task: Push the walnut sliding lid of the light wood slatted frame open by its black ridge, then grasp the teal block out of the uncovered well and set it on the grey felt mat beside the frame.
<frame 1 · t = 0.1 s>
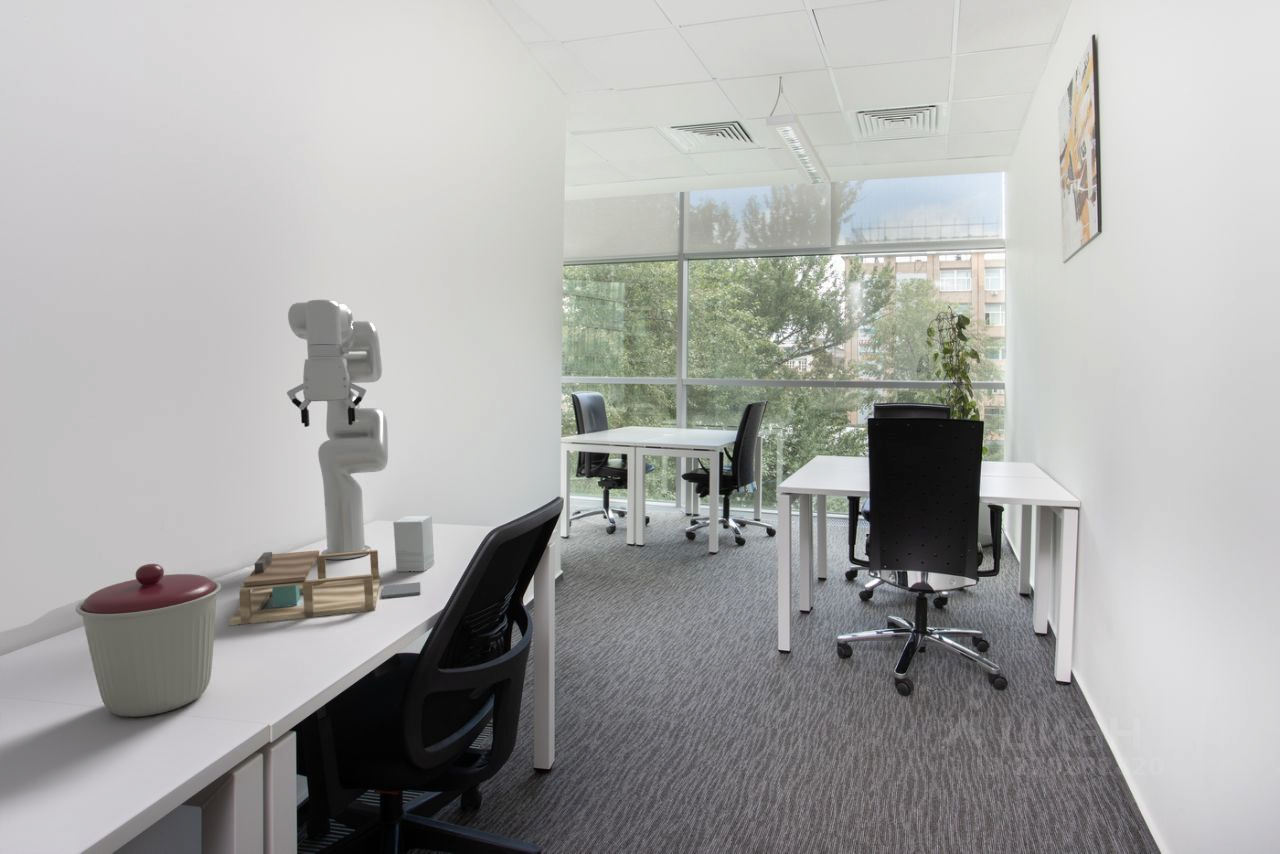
hand: (329, 425, 177), 37 cm above the table, tool pointing down, fingers open, 9 cm apart
felt mat: (401, 591, 167), on the table
teal block: (286, 603, 160), resting in light wood slatted frame
supplement box: (415, 569, 187), on the table
light wood slatted frame: (312, 600, 162), on the table
walnut lid: (284, 562, 160), point 9 cm above the table, slide at 0.0 cm
canister: (159, 703, 112), on the table
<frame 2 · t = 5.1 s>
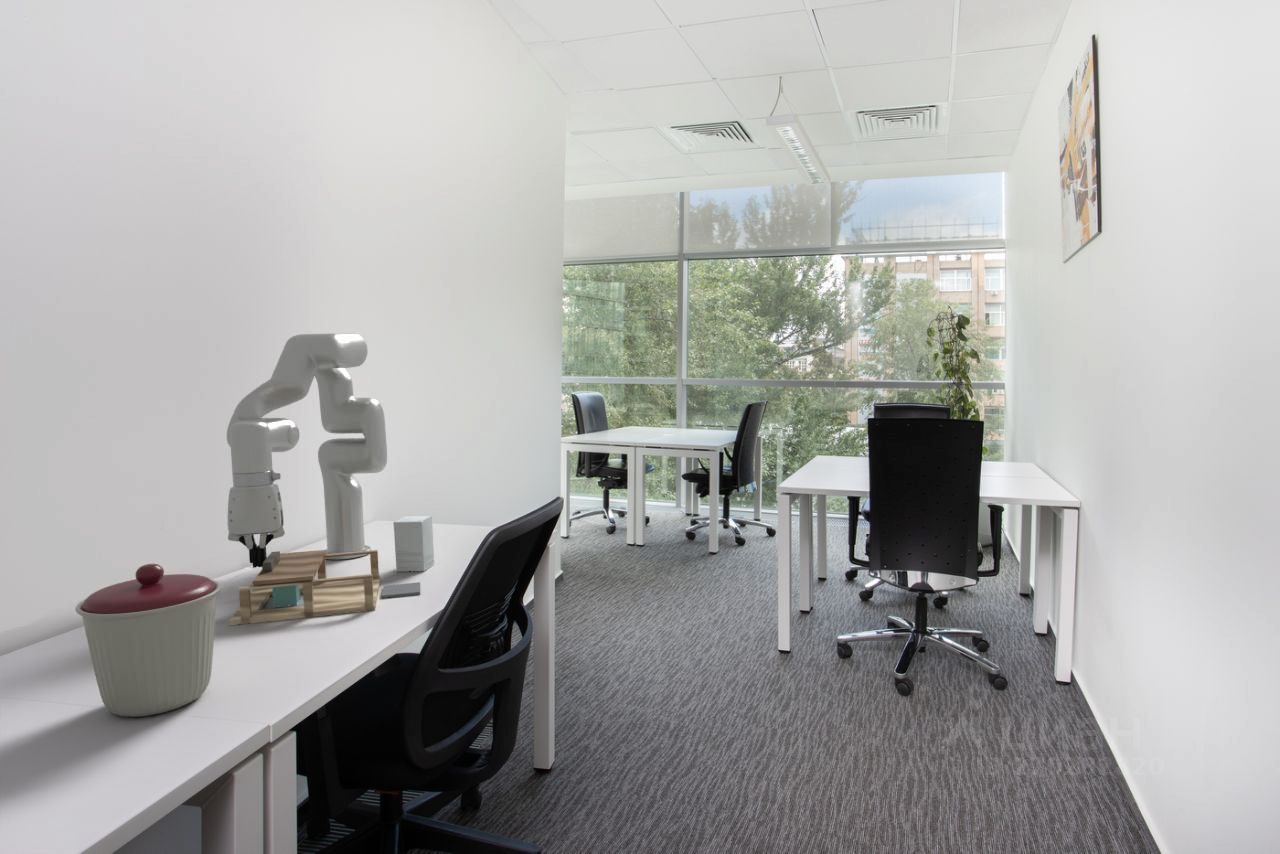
hand: (258, 565, 158), 9 cm above the table, tool pointing down, fingers closed
walnut lid: (292, 561, 160), point 9 cm above the table, slide at 1.6 cm, touching gripper
everything else where it was.
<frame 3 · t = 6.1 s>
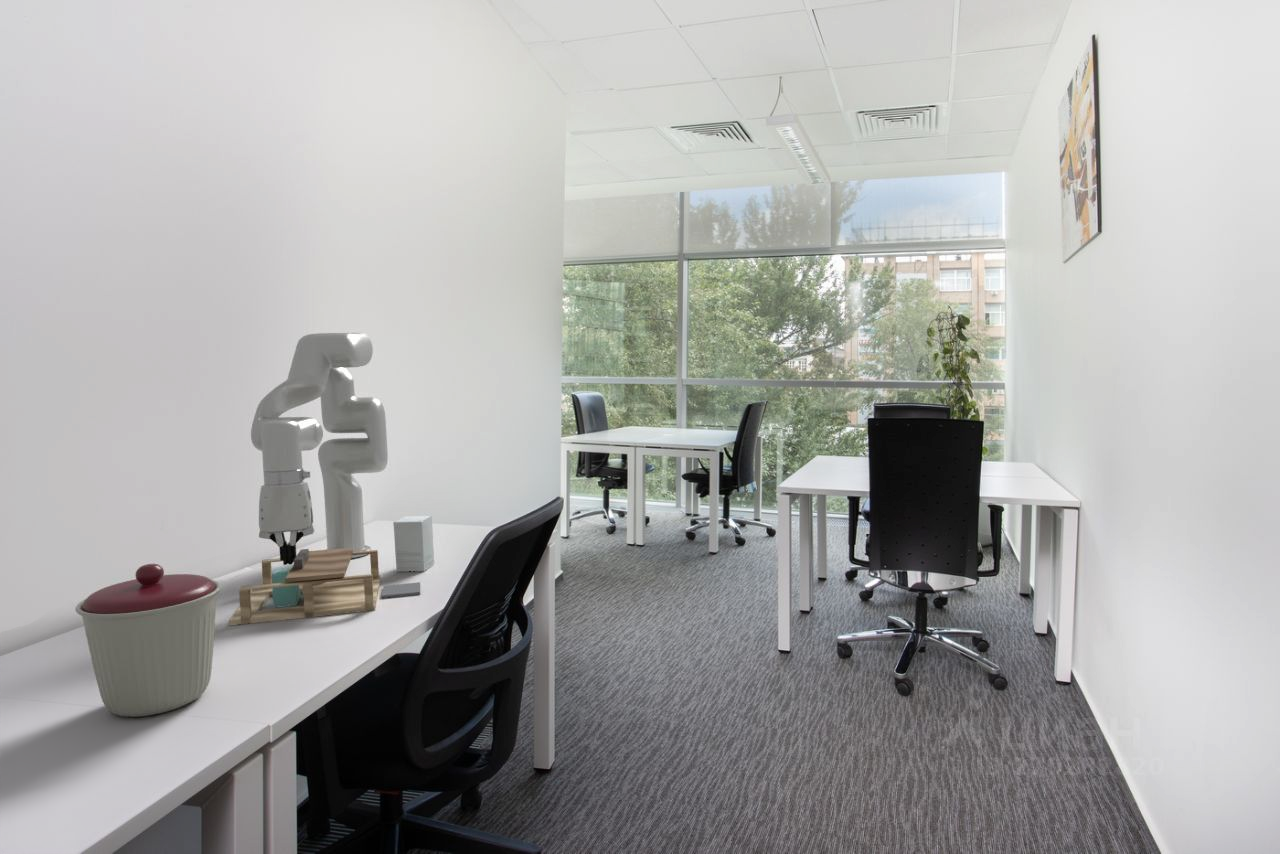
hand: (288, 563, 160), 9 cm above the table, tool pointing down, fingers closed
walnut lid: (321, 559, 162), point 9 cm above the table, slide at 7.4 cm, touching gripper
everything else where it was.
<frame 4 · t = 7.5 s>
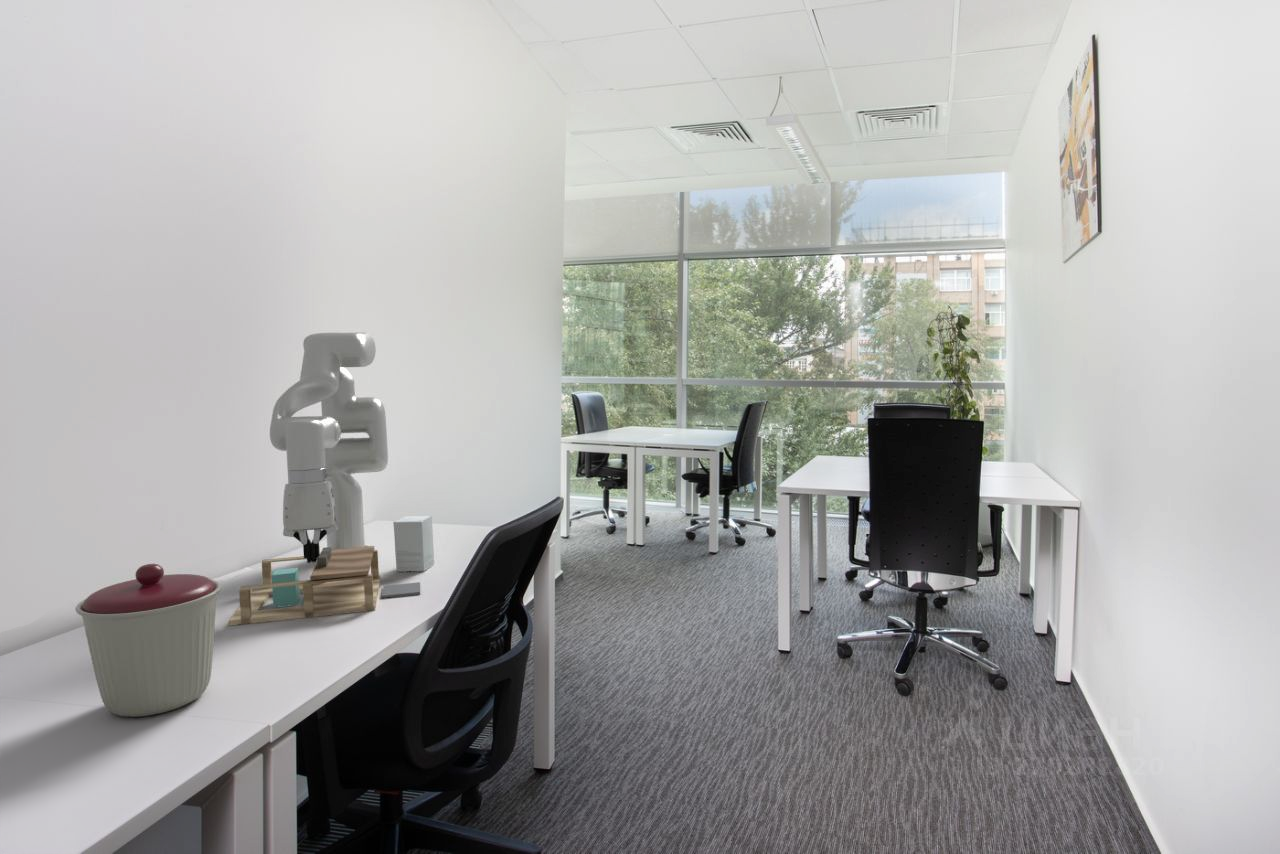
hand: (312, 560, 161), 9 cm above the table, tool pointing down, fingers closed
walnut lid: (344, 557, 163), point 9 cm above the table, slide at 12.0 cm, touching gripper
everything else where it was.
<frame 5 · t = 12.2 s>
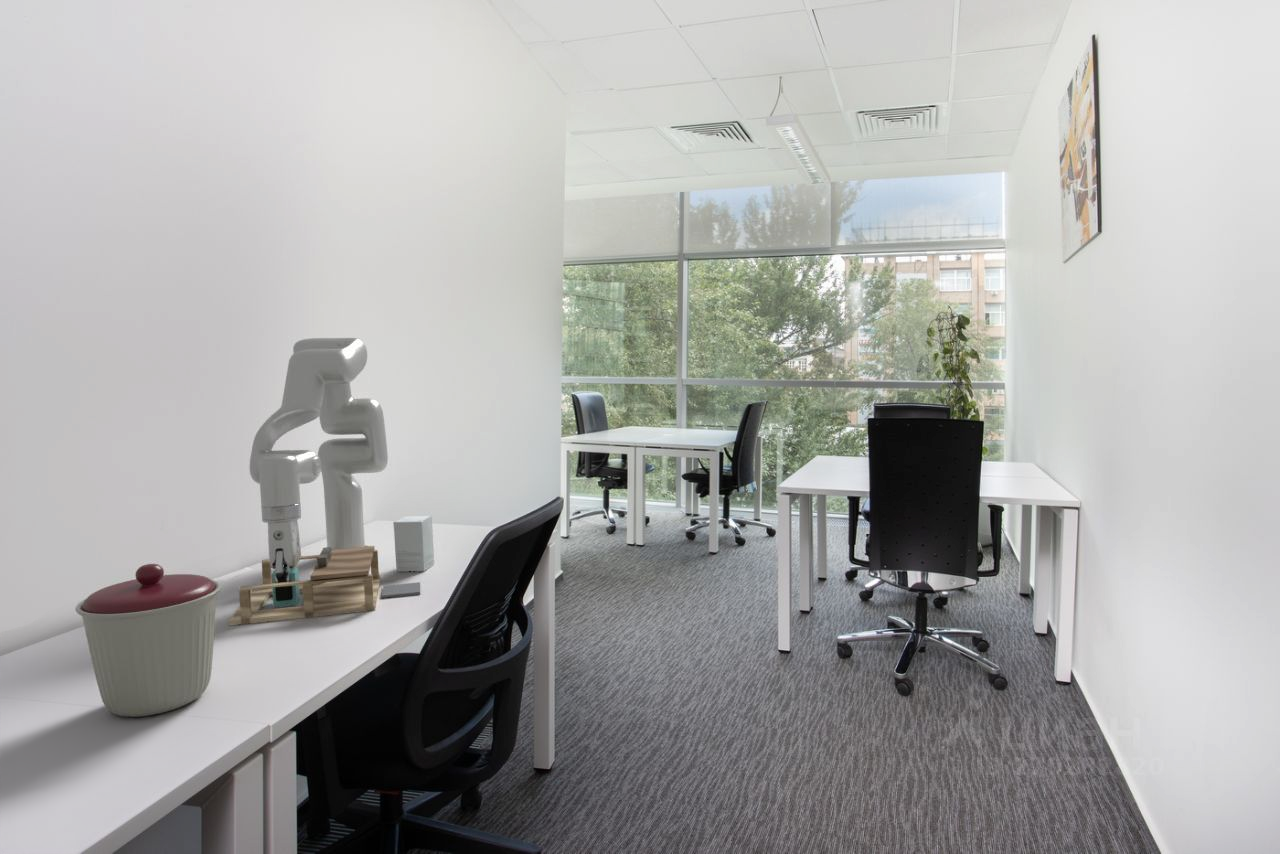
hand: (286, 595, 160), 2 cm above the table, tool pointing down, fingers closed on teal block, 4 cm apart
teal block: (286, 603, 160), resting in light wood slatted frame, touching gripper
walnut lid: (344, 557, 163), point 9 cm above the table, slide at 12.1 cm
everything else where it was.
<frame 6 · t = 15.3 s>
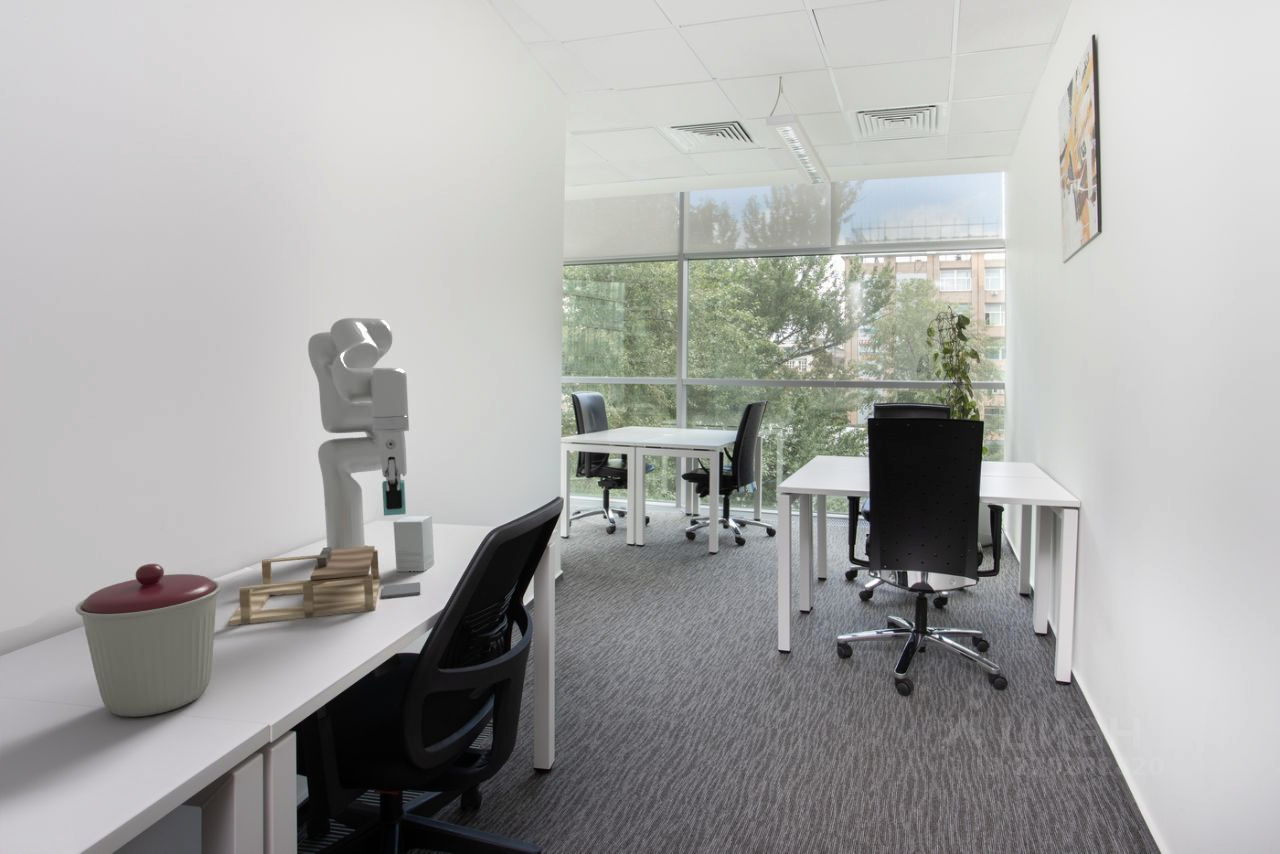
hand: (394, 505, 165), 19 cm above the table, tool pointing down, fingers closed on teal block, 4 cm apart
teal block: (395, 513, 165), point 18 cm above the table, touching gripper
everything else where it was.
when the fingers open (4 cm above the table, at t = 18.7 s): teal block drops 1 cm, resting on felt mat.
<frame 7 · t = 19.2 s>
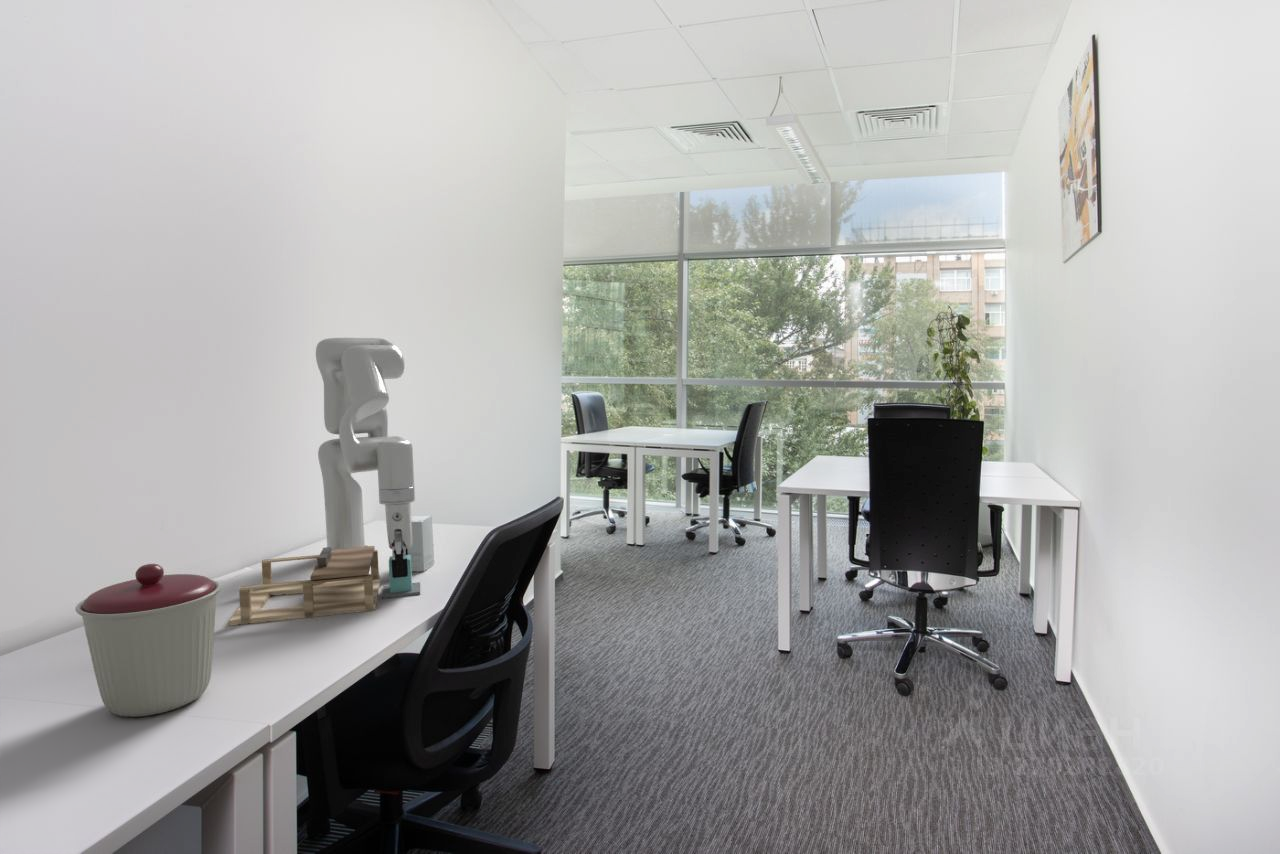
hand: (400, 571, 167), 5 cm above the table, tool pointing down, fingers open, 9 cm apart
teal block: (401, 588, 167), point 1 cm above the table, touching felt mat
everything else where it was.
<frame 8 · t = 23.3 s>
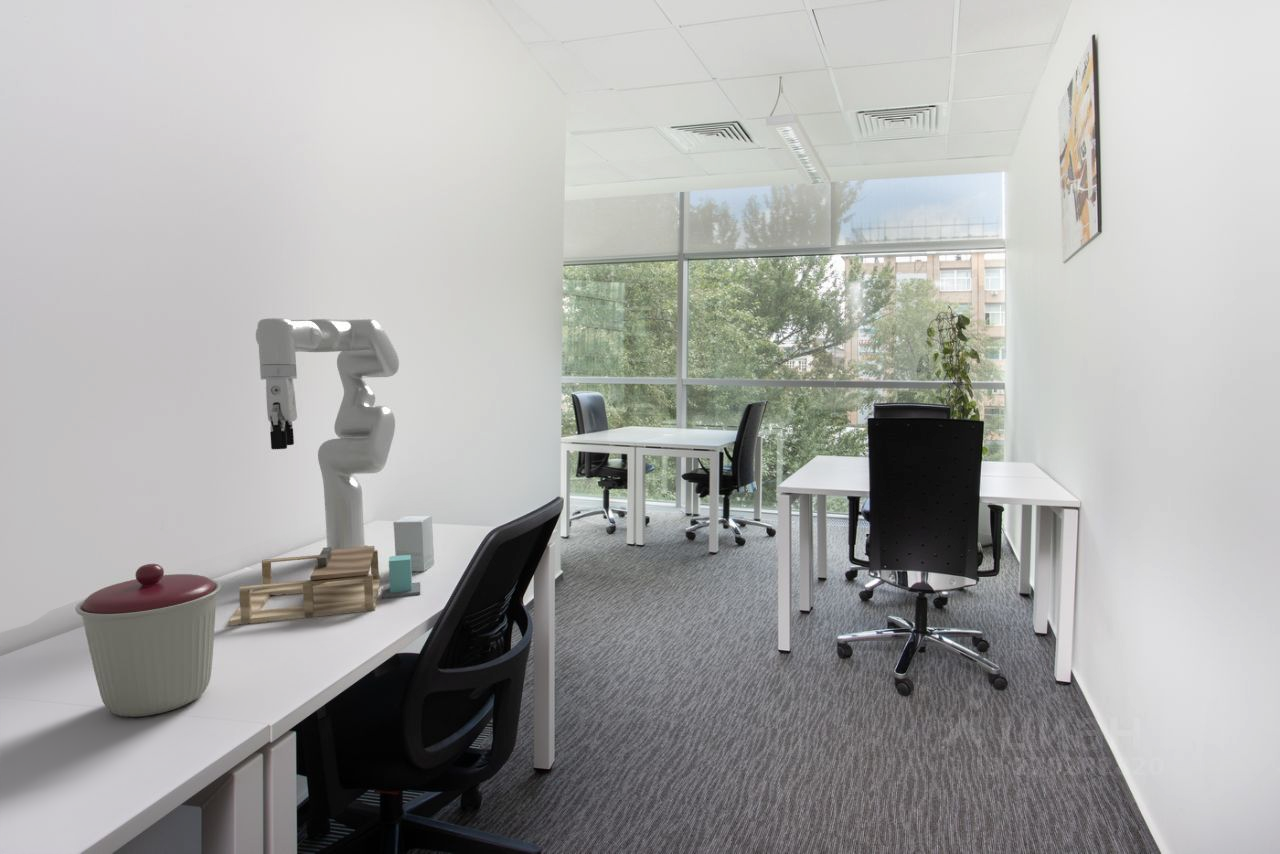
hand: (283, 447, 173), 32 cm above the table, tool pointing down, fingers open, 9 cm apart
nothing on the table moved.
at the end: walnut lid slide at 12.1 cm; teal block inside the target area on the felt mat (0.0 cm from its centre), point 0.6 cm above the felt mat's base; teal block tilted 0° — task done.
